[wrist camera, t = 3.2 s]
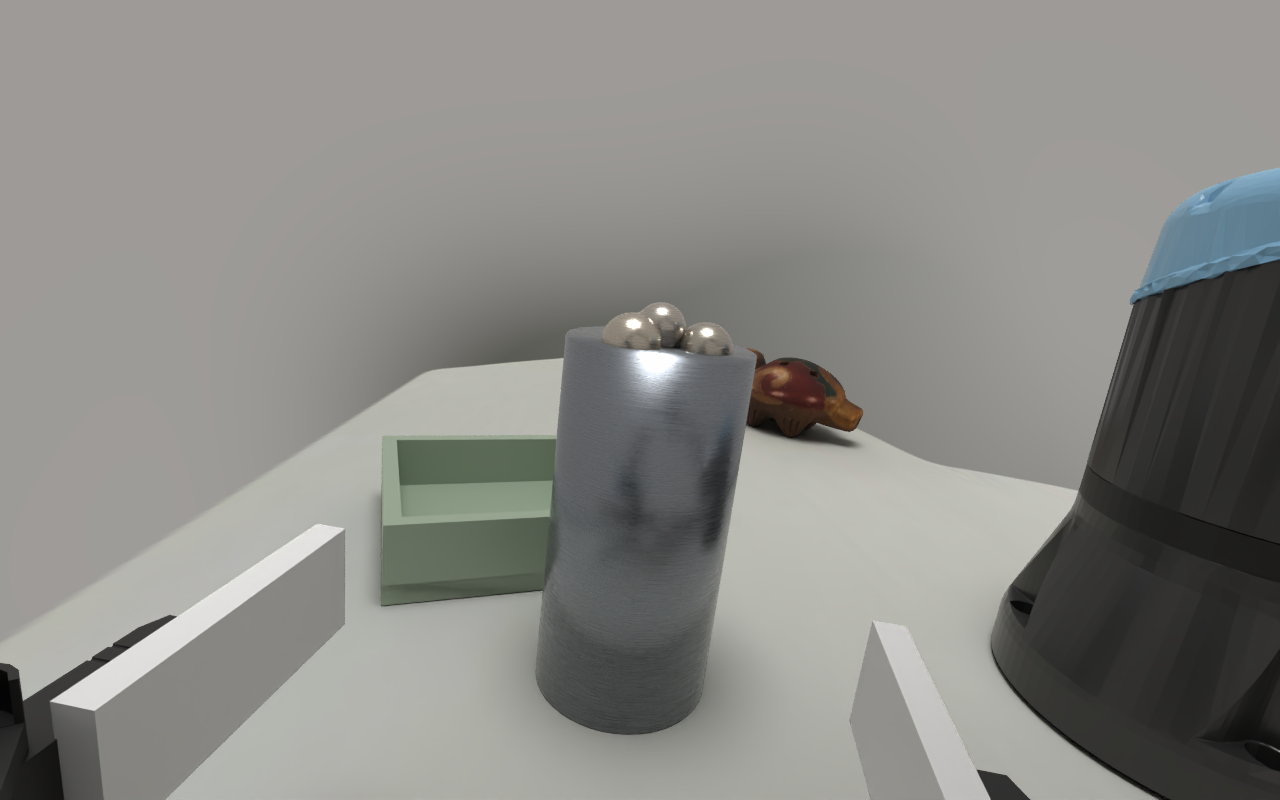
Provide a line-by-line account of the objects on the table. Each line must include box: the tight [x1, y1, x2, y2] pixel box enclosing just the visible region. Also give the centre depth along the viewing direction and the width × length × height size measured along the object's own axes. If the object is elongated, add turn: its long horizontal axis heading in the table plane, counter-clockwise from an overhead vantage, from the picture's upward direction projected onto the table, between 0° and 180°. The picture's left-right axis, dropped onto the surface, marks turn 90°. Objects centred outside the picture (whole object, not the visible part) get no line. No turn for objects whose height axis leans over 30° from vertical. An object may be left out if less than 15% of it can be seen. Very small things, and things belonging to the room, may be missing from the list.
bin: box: [381, 435, 557, 606], centre depth 37 cm, size 13×13×4 cm
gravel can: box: [536, 302, 757, 734], centre depth 25 cm, size 7×7×16 cm
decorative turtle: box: [745, 348, 863, 438], centre depth 67 cm, size 10×15×8 cm, turn 61°
